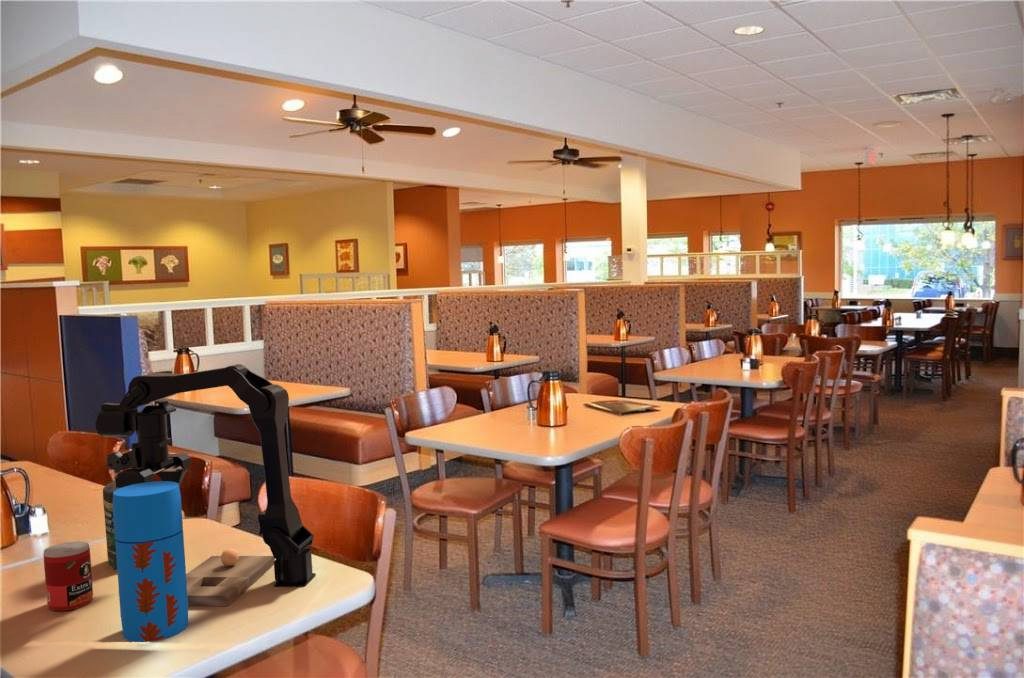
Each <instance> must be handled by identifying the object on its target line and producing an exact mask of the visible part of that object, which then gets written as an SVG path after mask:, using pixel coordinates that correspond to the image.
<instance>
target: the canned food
mask: <svg viewBox="0 0 1024 678" xmlns="http://www.w3.org/2000/svg"><path fill="white" fill-rule="evenodd" d="M90 547H91V546H90V544H89V542H87V541H82V540H81V541H79V540H78V541H77V540H76V541H67V542H61V543H56V544H53V545H51V546H48V547H46V548H44V550H43V554H42V555H43V567H44V568H43V569H44V579H45V580H44V581H45V590H46V601H47V602H46V603H47V605H48V608H49V609H50V610H52V611H59V612H63V611H71V610H76V609H79V608H82V607H84V606H86V605H88V604H90V603H91V602H92V601H93V597H94V589H93V577H92V576H93V575H92V574H93V573H92V560H91V549H90Z"/></svg>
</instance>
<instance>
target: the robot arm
mask: <svg viewBox="0 0 1024 678" xmlns="http://www.w3.org/2000/svg"><path fill="white" fill-rule="evenodd" d="M226 386H227V387H228V388H229V389H231V390H232V391H233V392H234V393H235V395H236V396H237V397H238V399H239V400H241V402H243V403H244V404H245V405H247V406H248V409H249V413H250V417H251V420H252V422H253V424H254V426H255V427H256V430H257V431H258V432H259V436H260V445H261V454H262V455H261V456H262V463H263V474H264V482H265V483H264V484H265V492H266V508H265V509H264V510H262V511H261V512H260V513H258V515H257V519H258V524H259V531H258V532H259V533H258V535H259V536H261V535H262V536H261V537H262V541H263V542H264V544H265V545H267V546H268V547H269V549H270V551H271V554H272V556H274V558H275V561H274V565H273V568H274V569H273V572H274V581H275V583H274V584H273V587H274V588H304V587H307V585H309V583H311V581H312V580H313V579H315V578H316V576H317V574H316V573H315V572H314V573H313V560H312V558H313V557H312V548H309V547H310V546H312V545H313V543H314V539H315V535H314V534H313V533H312V532H311V531H310V530H309V529H308V528H307V527H305V525H304V524H303V522H302V519H301V515H300V511H299V508H298V507H297V505H296V503H295V502H294V500H293V498H292V494H291V484H290V475H289V466H288V457H287V456H288V453H287V446H286V436H285V426H286V424H287V423H286V422H287V419H288V415H289V401H290V396H289V393H288V390H287V389H285V388H284V387H283V386H282V385H280V384H274V383H272V382H271V381H270V380H269V379H267V378H265V377H263V376H261V375H259V374H257V373H255V372H253V371H252V370H250V369H249V368H247V367H246V366H245V365H243V364H239V363H237V364H232V365H228V366H226V367H220V368H213V369H205V370H200V371H194V372H187V373H172V372H152V373H147V374H142V375H137V376H134V377H133V378H132V379H131V380H130V382H129V383H128V388H127V389H128V390H127V391H126V394H125V395H124V397H122V399H121V401H120V402H119V403H114V402H105V403H102V404H100V406H101V409H100V411H99V413H98V415H97V417H96V421H95V429H96V432H97V434H98V435H99V436H101V437H103V438H104V437H132V436H133V435H134V434H136V435H135V436H136V441H135V442H132V444H131V445H130V448H131V450H129V451H127V452H124V453H121V451H119V450H116V451H114V452H111V453H109V454H107V456H106V468H108V469H109V470H111V471H113V473H114V474H116V475H115V476H114V477H113V479H114V480H113V481H115V487H116V488H122V487H125V486H129V485H133V484H139V483H145V482H154V479H155V475H157V477H159V479H160V480H161V481H170V482H176V483H178V484H179V488H180V486H181V484H182V482H183V479H184V477H185V475H186V473H187V472H188V471H189V469H188V468H189V467H191V466H192V462H191V461H192V460H191V456H190V455H189V454H188V453H184V452H183V453H179V452H178V453H177V452H176V453H170V452H169V451H170V450H169V445H171V444H173V438H172V437H168V426H167V425H168V423H167V422H168V421H167V415H169V414H170V413H171V414H172V413H174V412H177V408H176V407H175V406H173V405H172V404H171V403H169V401H168V400H165V401H162V400H164V399H167V398H170V397H172V396H177V394H181V393H187V392H195V391H201V390H207V389H214V388H220V387H222V388H223V387H226ZM157 401H162V402H160V403H159V404H152V405H150V404H151V403H153V402H157ZM143 406H145V407H144V408H143V409H139V408H140V407H143ZM135 432H136V433H135Z"/></svg>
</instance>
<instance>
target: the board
mask: <svg viewBox="0 0 1024 678" xmlns="http://www.w3.org/2000/svg"><path fill="white" fill-rule="evenodd" d="M275 560H276V559H275V558H274V556H273V555H239V558H238V561H237V563H236V564H234V565H232V566H226V565H224V564H223V563H222V562H221V555H211V556H210V557H209V558H208V557H207V559H205V560H204V561H203V562H201V563H200V564H199V565H197V566H195V567H194V568H192V569H191V570H190V571H189V572H186V581H187V596H188V607H228V606H231V604H232V603H233V602H234V601H235V600H236V599H238V598H239V597H240V596H241V595H242V594H244V593H245V592H246V591H247V590H248V589H249V588H251V586H252V585H254V584H255V583H256V582H257V581H259V579H261V578H262V577H263V576H264V575H265V574H266V573H267V572H268V571H269V570H270V569H271V568H272V567H274V561H275Z"/></svg>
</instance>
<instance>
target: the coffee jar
mask: <svg viewBox="0 0 1024 678" xmlns="http://www.w3.org/2000/svg"><path fill="white" fill-rule="evenodd" d="M117 489H119V488H116V487H115V481H114V480H112V481H109V482H108V483H107V484H106V485H105V486H103V488H102V504H103V512H104V513H103V514H104V526H105V538H106V551H107V563H108V565H109V567H110V568H112V569H113V570H116V571H117V559H116V545H115V532H114V518H113V492H114V491H115V490H117Z"/></svg>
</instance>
